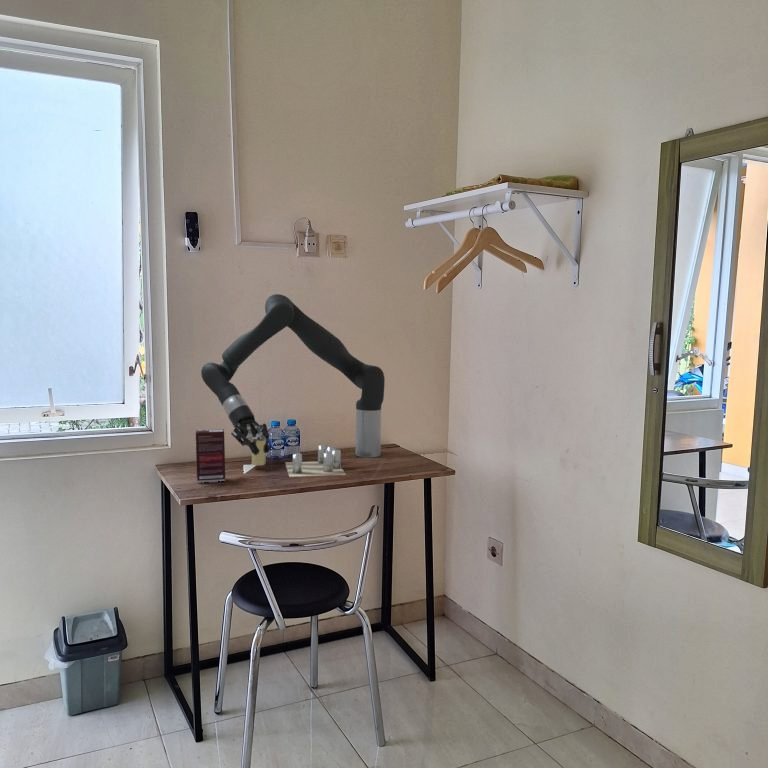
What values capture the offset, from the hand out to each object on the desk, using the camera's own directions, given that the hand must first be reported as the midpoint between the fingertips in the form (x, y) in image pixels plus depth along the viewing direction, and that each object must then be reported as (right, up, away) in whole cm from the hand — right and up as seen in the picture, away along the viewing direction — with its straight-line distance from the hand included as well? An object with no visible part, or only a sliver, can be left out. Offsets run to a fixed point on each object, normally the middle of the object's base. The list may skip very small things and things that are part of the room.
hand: (262, 452), depth 227 cm
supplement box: (-14, -8, -11) cm, 20 cm away
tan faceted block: (-2, -4, +2) cm, 5 cm away
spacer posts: (+17, -6, +5) cm, 18 cm away
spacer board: (+17, -7, +4) cm, 18 cm away
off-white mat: (-2, -7, +2) cm, 7 cm away
